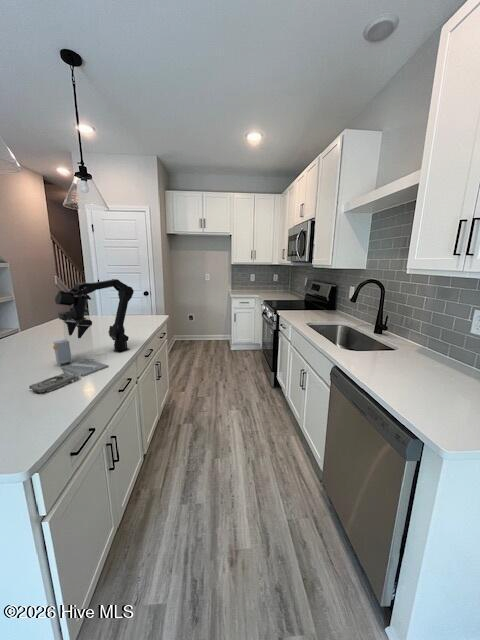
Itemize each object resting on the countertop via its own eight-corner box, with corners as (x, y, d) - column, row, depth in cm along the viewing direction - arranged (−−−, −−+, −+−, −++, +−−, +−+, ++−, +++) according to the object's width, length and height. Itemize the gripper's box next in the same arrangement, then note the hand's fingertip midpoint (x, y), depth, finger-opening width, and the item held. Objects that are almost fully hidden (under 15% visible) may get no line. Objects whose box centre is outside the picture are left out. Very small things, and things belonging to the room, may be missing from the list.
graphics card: (64, 368, 123) (81, 372, 118) (66, 375, 124) (82, 380, 119) (23, 383, 108) (40, 388, 103) (25, 391, 109) (41, 397, 104)
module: (69, 361, 140) (66, 339, 137) (72, 363, 136) (68, 341, 134) (55, 364, 135) (51, 341, 132) (57, 367, 132) (54, 344, 129)
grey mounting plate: (86, 360, 141) (86, 356, 140) (108, 367, 132) (107, 362, 132) (61, 369, 130) (60, 364, 129) (83, 376, 121) (82, 371, 121)
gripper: (53, 303, 132) (48, 333, 132) (71, 306, 122) (66, 339, 122) (76, 306, 142) (72, 334, 142) (94, 309, 132) (90, 340, 132)
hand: (74, 336), depth 134 cm, fingers open, 9 cm apart
